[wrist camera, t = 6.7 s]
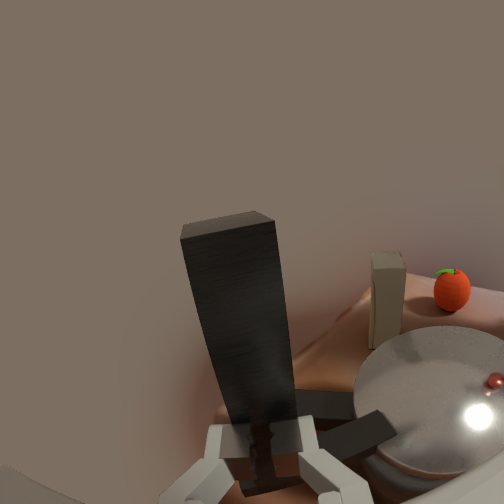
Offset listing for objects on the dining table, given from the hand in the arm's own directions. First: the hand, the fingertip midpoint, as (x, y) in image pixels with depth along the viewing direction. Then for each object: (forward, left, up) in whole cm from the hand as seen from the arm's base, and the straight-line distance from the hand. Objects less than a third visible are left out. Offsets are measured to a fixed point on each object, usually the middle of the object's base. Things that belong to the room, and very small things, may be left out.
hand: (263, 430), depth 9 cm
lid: (-9, +4, -7) cm, 12 cm away
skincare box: (-29, -6, -16) cm, 34 cm away
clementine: (-41, +2, -16) cm, 44 cm away
